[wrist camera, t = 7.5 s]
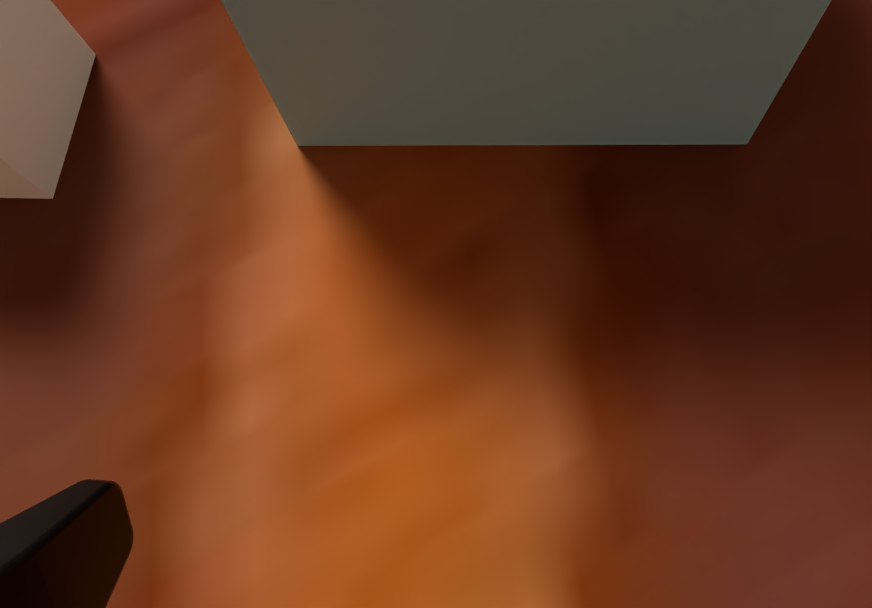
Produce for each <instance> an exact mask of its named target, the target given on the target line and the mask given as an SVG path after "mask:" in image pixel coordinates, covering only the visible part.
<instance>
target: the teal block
mask: <svg viewBox="0 0 872 608" xmlns="http://www.w3.org/2000/svg"><path fill="white" fill-rule="evenodd" d="M221 1H222V3H223V5H224V7H225V9H226V11H227V13H228V15H229V17H230V19H231V20H232V22H233V24H234V26H235V28H236V30H237V32H238V34H239V36H240V38H241V39H242V41H243V43H244V45H245V47H246V49H247V51H248V53H249V55H250V57H251V59H252V60H253V62H254V64H255V66H256V68H257V70H258V72H259V74H260V76H261V78H262V79H263V81H264V83H265V85H266V87H267V89H268V91H269V93H270V95H271V97H272V98H273V100H274V102H275V104H276V106H277V108H278V110H279V112H280V114H281V116H282V118H283V119H284V121H285V123H286V125H287V127H288V129H289V131H290V133H291V135H292V137H293V138H294V140H295V142H296V144H297V146H428V145H730V144H748V142H749V141H750V139H751V137H752V135H753V134H754V132H755V130H756V129H757V127H758V125H759V123H760V122H761V120H762V118H763V117H764V115H765V113H766V111H767V110H768V108H769V106H770V105H771V103H772V101H773V100H774V98H775V96H776V94H777V93H778V91H779V89H780V88H781V86H782V84H783V82H784V81H785V79H786V77H787V76H788V74H789V72H790V70H791V69H792V67H793V65H794V64H795V62H796V60H797V59H798V57H799V55H800V53H801V52H802V50H803V48H804V47H805V45H806V43H807V41H808V40H809V38H810V36H811V35H812V33H813V31H814V30H815V28H816V26H817V24H818V23H819V21H820V19H821V18H822V16H823V14H824V12H825V11H826V9H827V7H828V6H829V4H830V2H831V0H221Z"/></svg>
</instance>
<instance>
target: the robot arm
mask: <svg viewBox="0 0 872 608" xmlns="http://www.w3.org/2000/svg"><path fill="white" fill-rule="evenodd" d="M132 544H133V528H132V525H131V521H130V517H129V514H128V510H127V506H126V502H125V499H124V495H123V491H122V489H121V487H120V486H119V485H118V484H117V483H116V482H113V481H105V480H91V479H89V480H83V481H80V482H78V483H76V484H74V485H72V486H70V487H68V488H66V489H65V490H63V491H61V492H59V493H57V494H55V495H53V496H51V497H49V498H48V499H46V500H44V501H42V502H40V503H38V504H36V505H34V506H32V507H31V508H29V509H27V510H25V511H23V512H21V513H19V514H17V515H15V516H14V517H12V518H10V519H8V520H6V521H4V522H2V523H0V608H106V606H107V603H108V601H109V599H110V597H111V594H112V592H113V590H114V588H115V585H116V583H117V581H118V579H119V576H120V574H121V572H122V570H123V567H124V565H125V563H126V561H127V559H128V556H129V554H130V551H131V548H132Z"/></svg>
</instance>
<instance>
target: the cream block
mask: <svg viewBox="0 0 872 608" xmlns="http://www.w3.org/2000/svg"><path fill="white" fill-rule="evenodd" d="M95 55H96V54H95V53H94V52H93V51H92V50H91V48H90V47H89V46H88V45H87V44H86V42H85V41H84V40H83V39H82V38H81V36H80V35H79V34H78V33H77V32H76V30H75V29H74V28H73V27H72V26H71V24H70V23H69V22H68V21H67V20H66V18H65V17H64V16H63V15H62V14H61V12H60V11H59V10H58V9H57V8H56V6H55V5H54V4H53V3H52V2H51V0H0V198H39V199H53V197H54V193H55V190H56V186H57V183H58V180H59V176H60V173H61V170H62V166H63V163H64V160H65V156H66V153H67V149H68V146H69V143H70V139H71V136H72V133H73V129H74V126H75V123H76V119H77V116H78V113H79V109H80V106H81V102H82V99H83V96H84V92H85V89H86V86H87V82H88V79H89V76H90V72H91V69H92V65H93V62H94V59H95Z"/></svg>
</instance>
